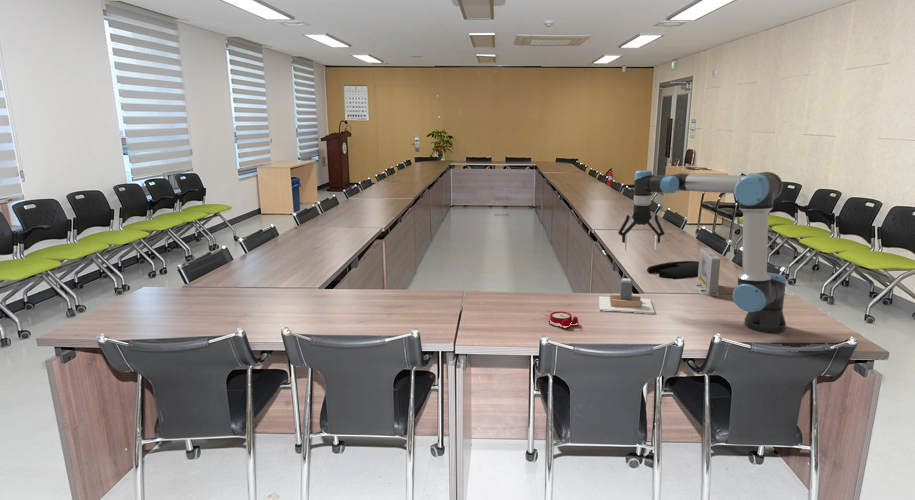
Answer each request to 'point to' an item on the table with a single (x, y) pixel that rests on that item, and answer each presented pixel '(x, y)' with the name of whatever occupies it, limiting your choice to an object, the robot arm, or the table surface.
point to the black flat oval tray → (676, 269)
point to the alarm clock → (563, 318)
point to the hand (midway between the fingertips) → (640, 249)
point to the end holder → (626, 304)
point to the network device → (708, 272)
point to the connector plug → (626, 289)
